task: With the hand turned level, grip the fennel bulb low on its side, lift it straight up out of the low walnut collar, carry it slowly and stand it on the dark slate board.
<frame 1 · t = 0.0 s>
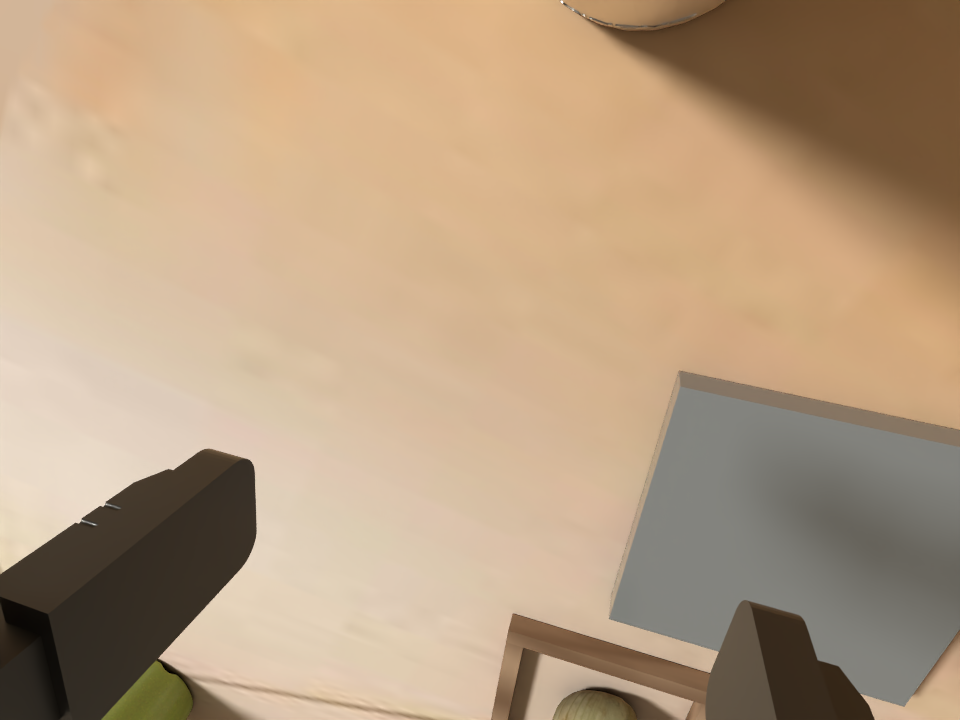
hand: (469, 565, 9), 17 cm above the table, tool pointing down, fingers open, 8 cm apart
walnut collar: (596, 704, 35), on the table
slate board: (793, 535, 27), on the table
plant pot: (158, 679, 49), on the table
fennel bulb: (596, 700, 36), resting in walnut collar
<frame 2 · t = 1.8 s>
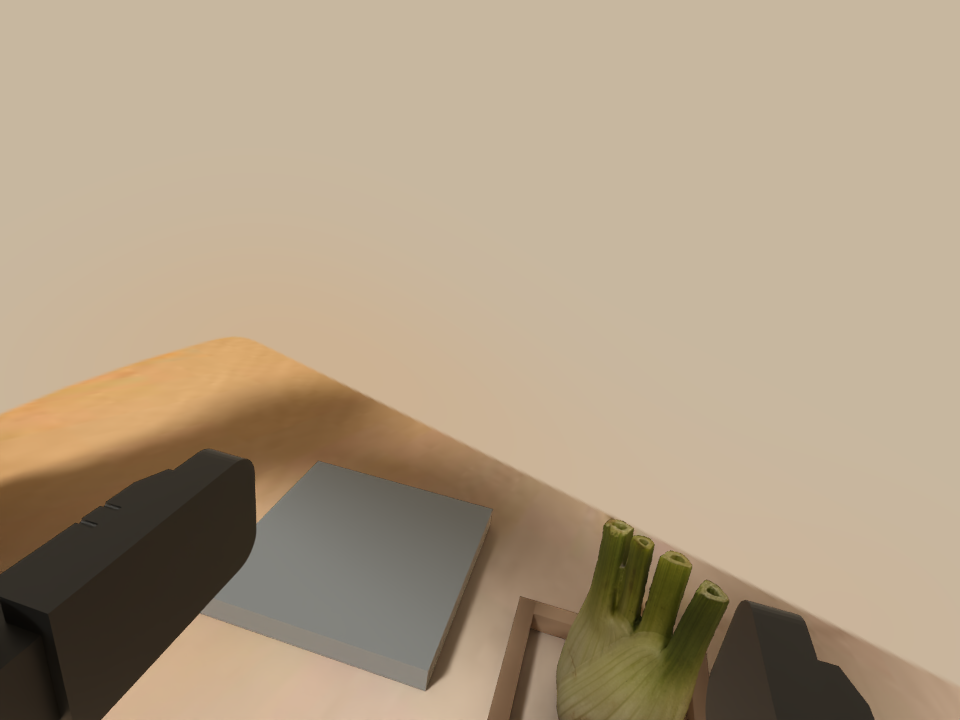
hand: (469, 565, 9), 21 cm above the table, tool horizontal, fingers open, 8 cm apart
slate board: (360, 562, 38), on the table
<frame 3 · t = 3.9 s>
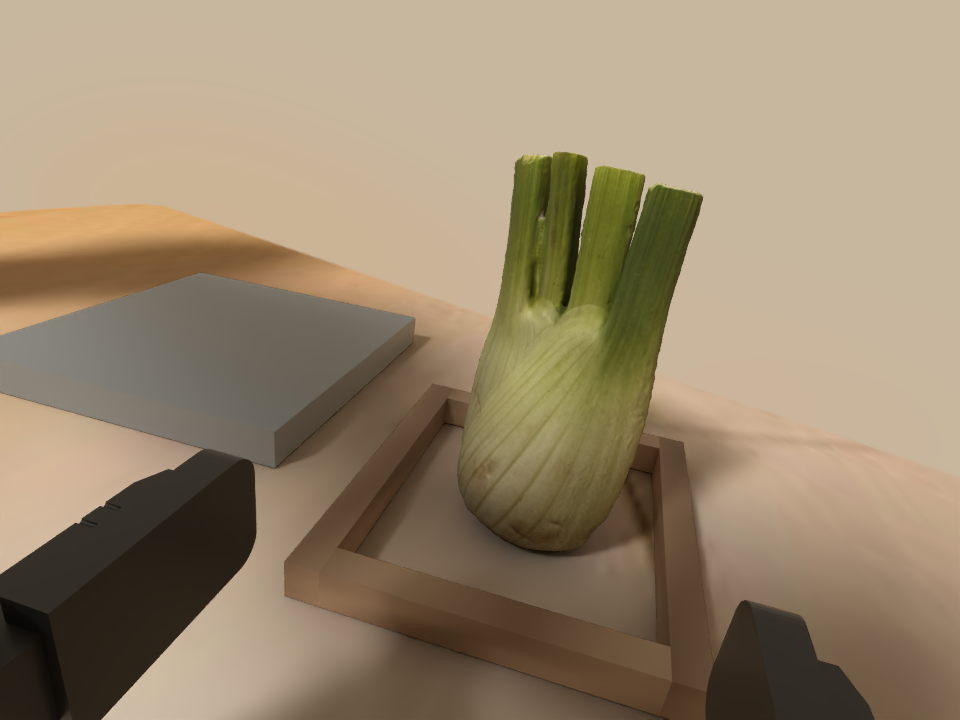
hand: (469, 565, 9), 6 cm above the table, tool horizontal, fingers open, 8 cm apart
walnut collar: (522, 517, 20), on the table
slate board: (229, 358, 28), on the table
fennel bulb: (521, 522, 20), resting in walnut collar
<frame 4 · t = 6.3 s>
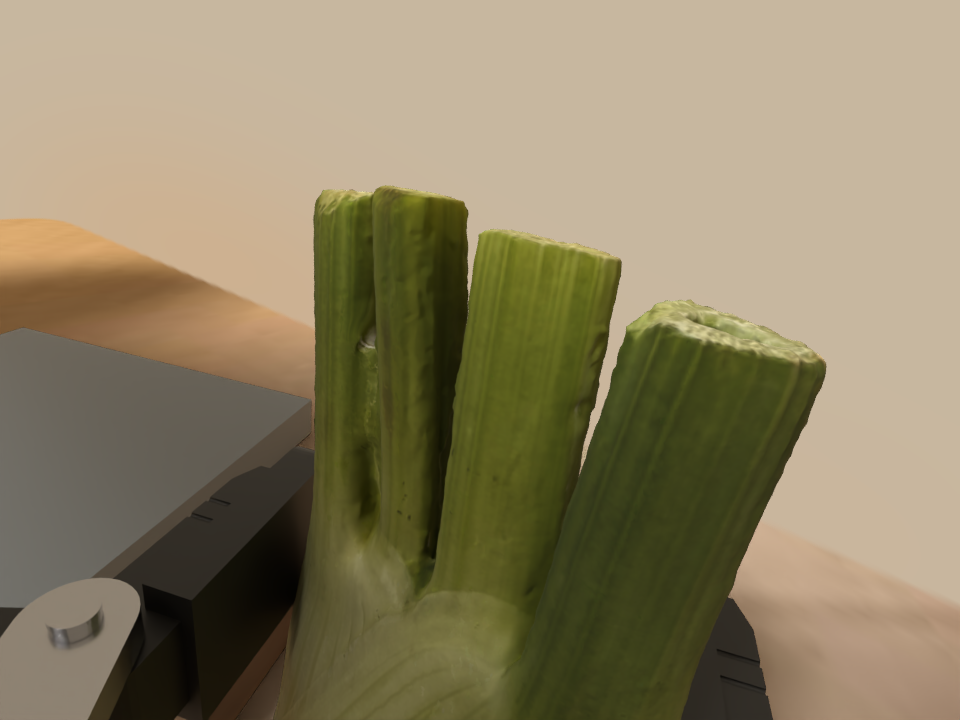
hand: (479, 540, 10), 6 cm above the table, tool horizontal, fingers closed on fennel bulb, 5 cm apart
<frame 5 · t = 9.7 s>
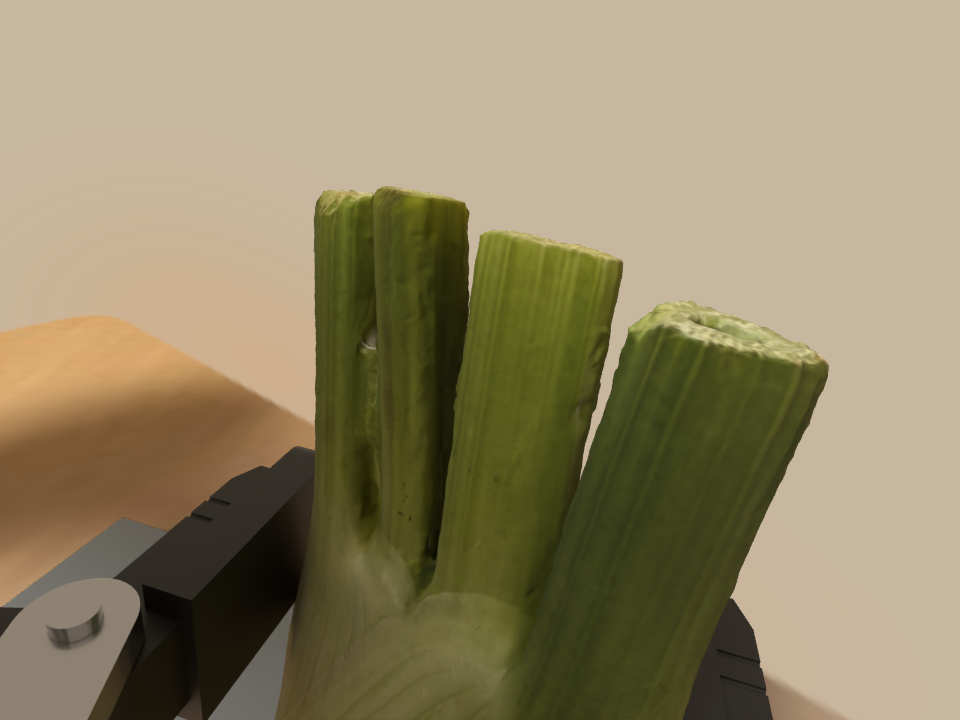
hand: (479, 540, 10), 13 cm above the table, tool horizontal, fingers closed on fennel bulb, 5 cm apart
when the fingers open (8 cm above the table, at t = 12.8 s): fennel bulb stays where it is, resting on slate board.
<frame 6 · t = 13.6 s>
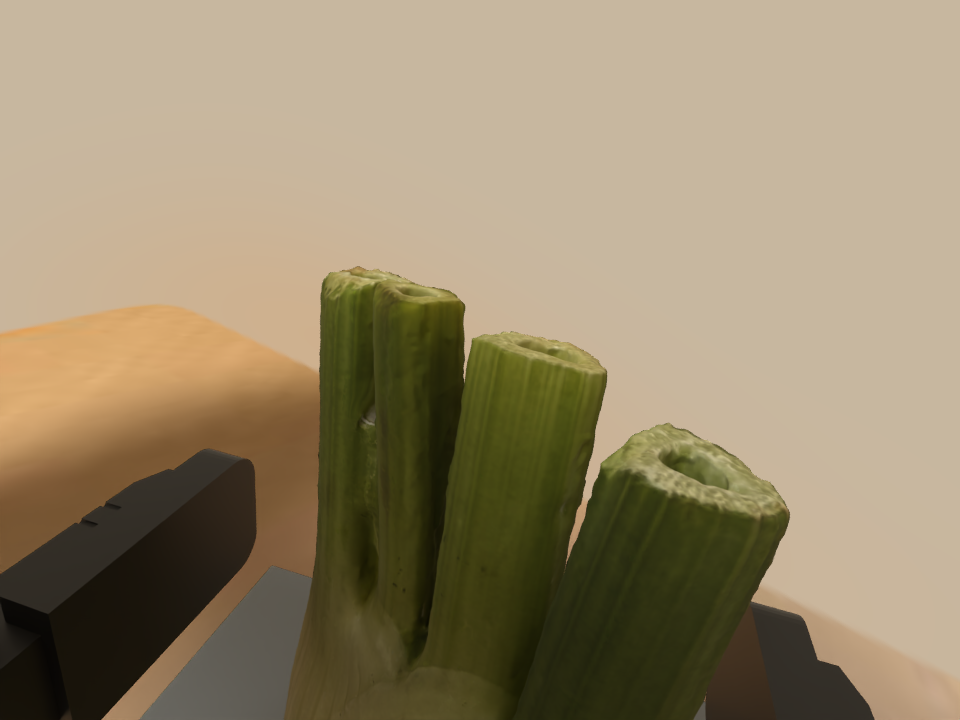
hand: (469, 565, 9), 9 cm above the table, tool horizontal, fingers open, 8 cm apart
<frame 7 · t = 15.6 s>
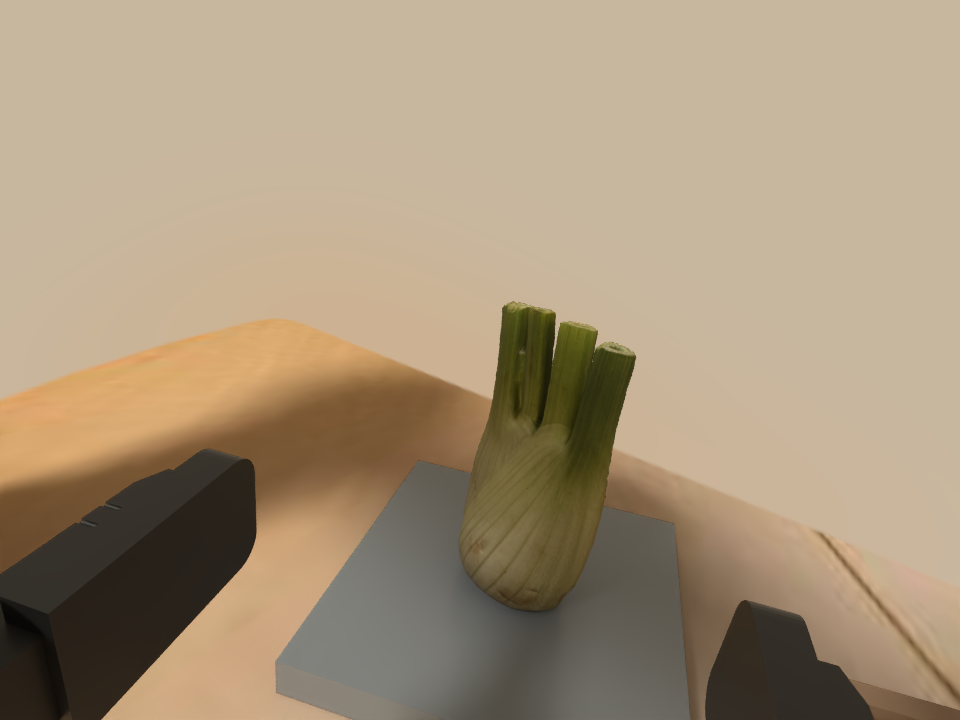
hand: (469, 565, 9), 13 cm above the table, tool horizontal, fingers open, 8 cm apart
slate board: (510, 605, 25), on the table
fennel bulb: (511, 583, 25), point 1 cm above the table, touching slate board
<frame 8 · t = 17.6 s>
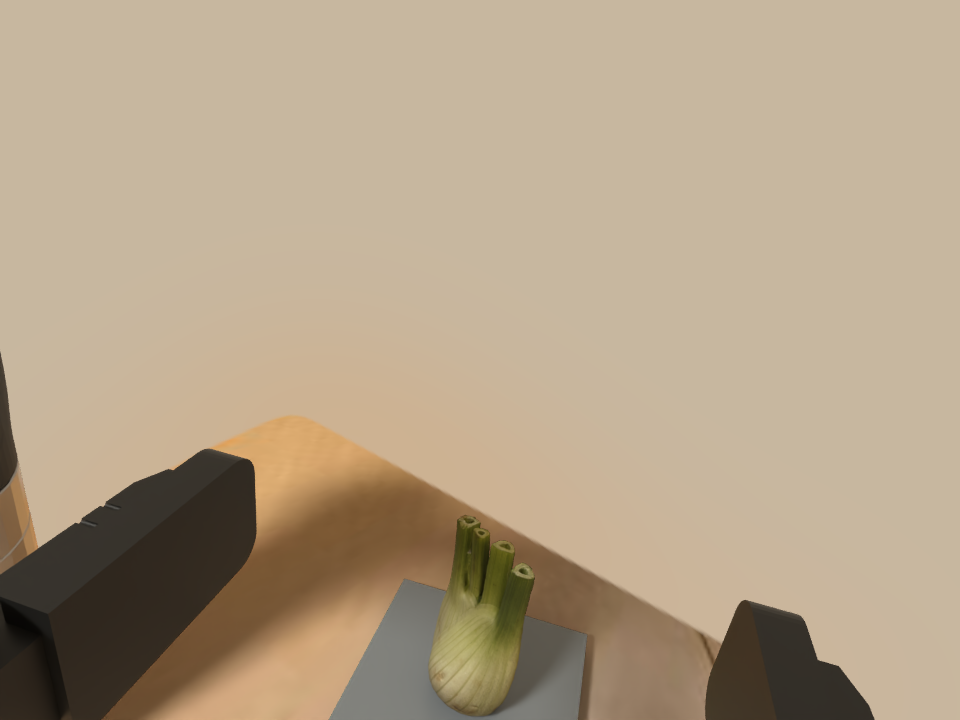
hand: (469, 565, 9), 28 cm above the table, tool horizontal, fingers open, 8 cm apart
slate board: (464, 703, 37), on the table
fennel bulb: (464, 690, 36), point 1 cm above the table, touching slate board
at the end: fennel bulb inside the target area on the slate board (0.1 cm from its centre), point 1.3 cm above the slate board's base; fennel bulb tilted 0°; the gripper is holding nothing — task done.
